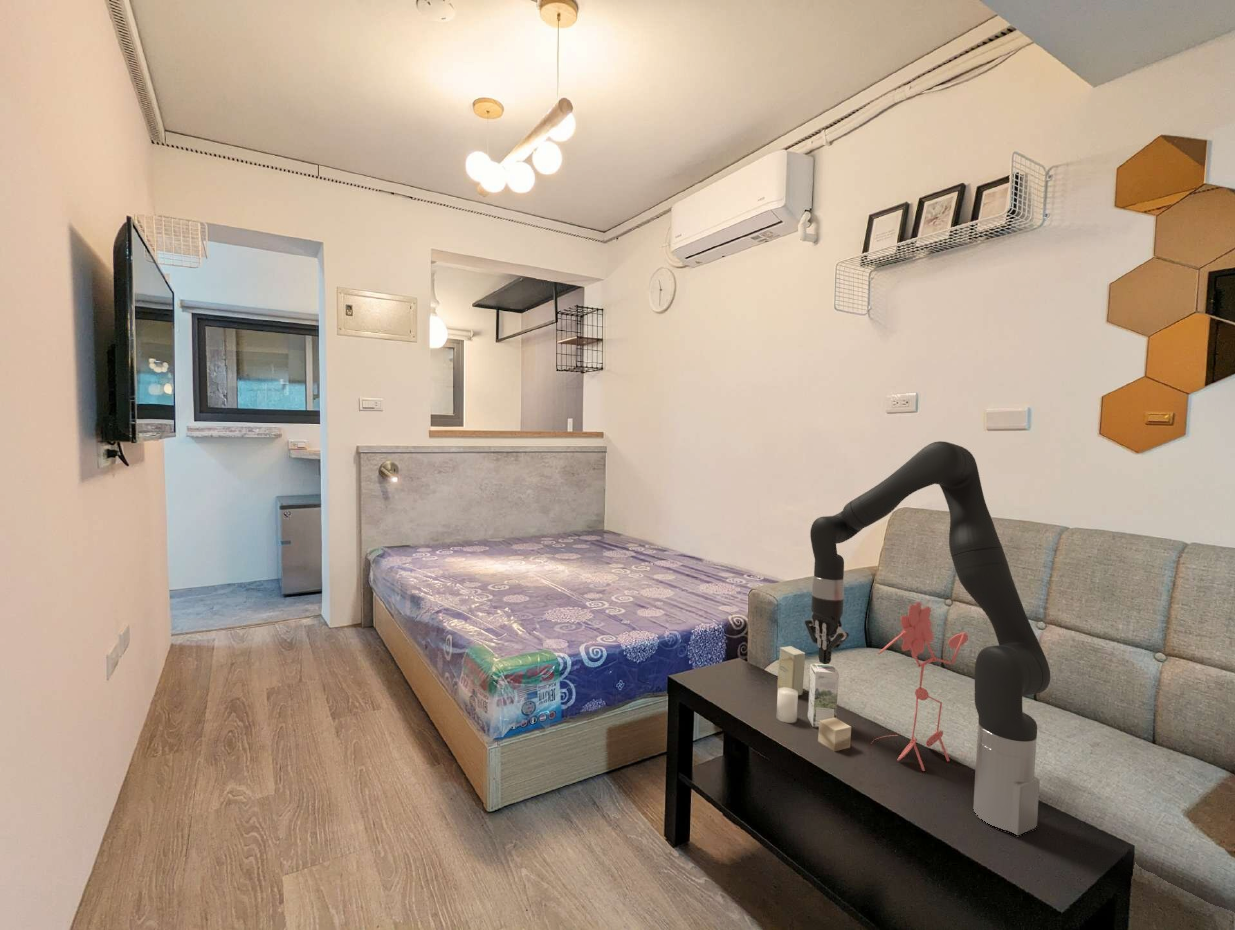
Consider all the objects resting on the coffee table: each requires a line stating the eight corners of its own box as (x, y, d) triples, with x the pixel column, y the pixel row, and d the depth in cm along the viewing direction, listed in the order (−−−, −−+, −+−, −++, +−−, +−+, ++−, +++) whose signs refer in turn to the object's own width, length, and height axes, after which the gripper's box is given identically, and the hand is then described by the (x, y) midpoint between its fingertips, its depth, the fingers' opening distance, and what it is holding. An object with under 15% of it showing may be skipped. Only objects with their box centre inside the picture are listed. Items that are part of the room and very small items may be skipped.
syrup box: (829, 719, 149) (832, 663, 148) (836, 730, 143) (839, 672, 142) (807, 717, 149) (809, 661, 149) (812, 728, 143) (815, 670, 143)
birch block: (850, 747, 135) (851, 726, 134) (834, 751, 132) (835, 730, 132) (833, 737, 139) (834, 717, 139) (818, 741, 137) (819, 720, 137)
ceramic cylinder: (800, 720, 147) (802, 693, 147) (785, 724, 145) (786, 696, 145) (787, 712, 152) (788, 686, 151) (772, 715, 149) (773, 688, 149)
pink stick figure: (974, 754, 133) (979, 604, 133) (903, 782, 121) (909, 616, 120) (912, 727, 147) (916, 590, 146) (843, 749, 134) (847, 599, 134)
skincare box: (776, 688, 167) (778, 647, 166) (788, 686, 169) (790, 645, 168) (791, 697, 161) (793, 654, 161) (803, 695, 163) (806, 652, 163)
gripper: (859, 600, 141) (856, 670, 141) (819, 587, 153) (816, 652, 153) (837, 602, 138) (833, 674, 138) (797, 589, 149) (794, 655, 150)
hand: (824, 662), depth 146 cm, fingers closed
